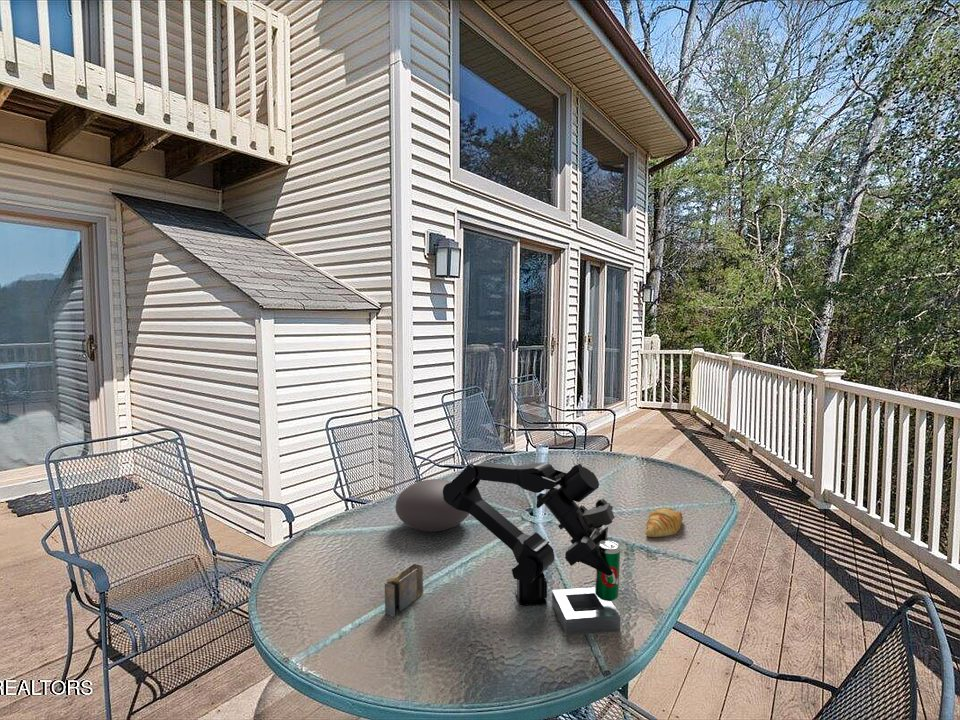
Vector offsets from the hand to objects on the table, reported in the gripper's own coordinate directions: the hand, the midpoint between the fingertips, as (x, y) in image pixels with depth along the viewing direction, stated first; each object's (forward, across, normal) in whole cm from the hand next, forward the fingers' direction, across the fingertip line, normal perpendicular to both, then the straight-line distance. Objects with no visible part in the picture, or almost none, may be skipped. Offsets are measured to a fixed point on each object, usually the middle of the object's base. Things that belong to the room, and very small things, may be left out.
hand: (613, 569), depth 115 cm
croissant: (+12, +58, +6) cm, 60 cm away
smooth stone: (-35, +29, +55) cm, 71 cm away
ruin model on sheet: (-23, -13, +42) cm, 50 cm away
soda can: (+4, 0, +6) cm, 7 cm away
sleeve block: (+4, -1, +13) cm, 14 cm away
